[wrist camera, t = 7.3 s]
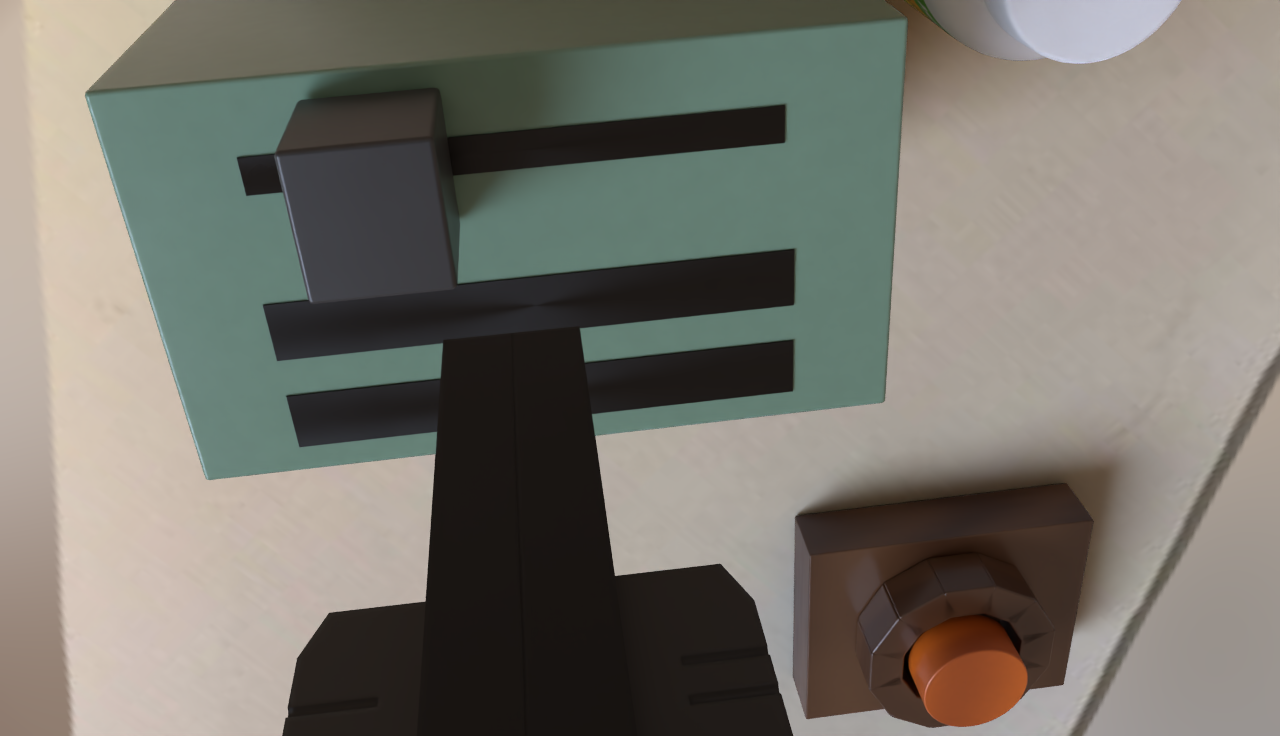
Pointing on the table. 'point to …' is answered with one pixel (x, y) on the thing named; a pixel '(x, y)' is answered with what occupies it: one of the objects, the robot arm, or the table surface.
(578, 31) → the toaster
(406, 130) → the slider
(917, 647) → the button
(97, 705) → the table surface
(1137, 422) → the table surface
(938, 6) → the supplement bottle
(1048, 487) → the button block
